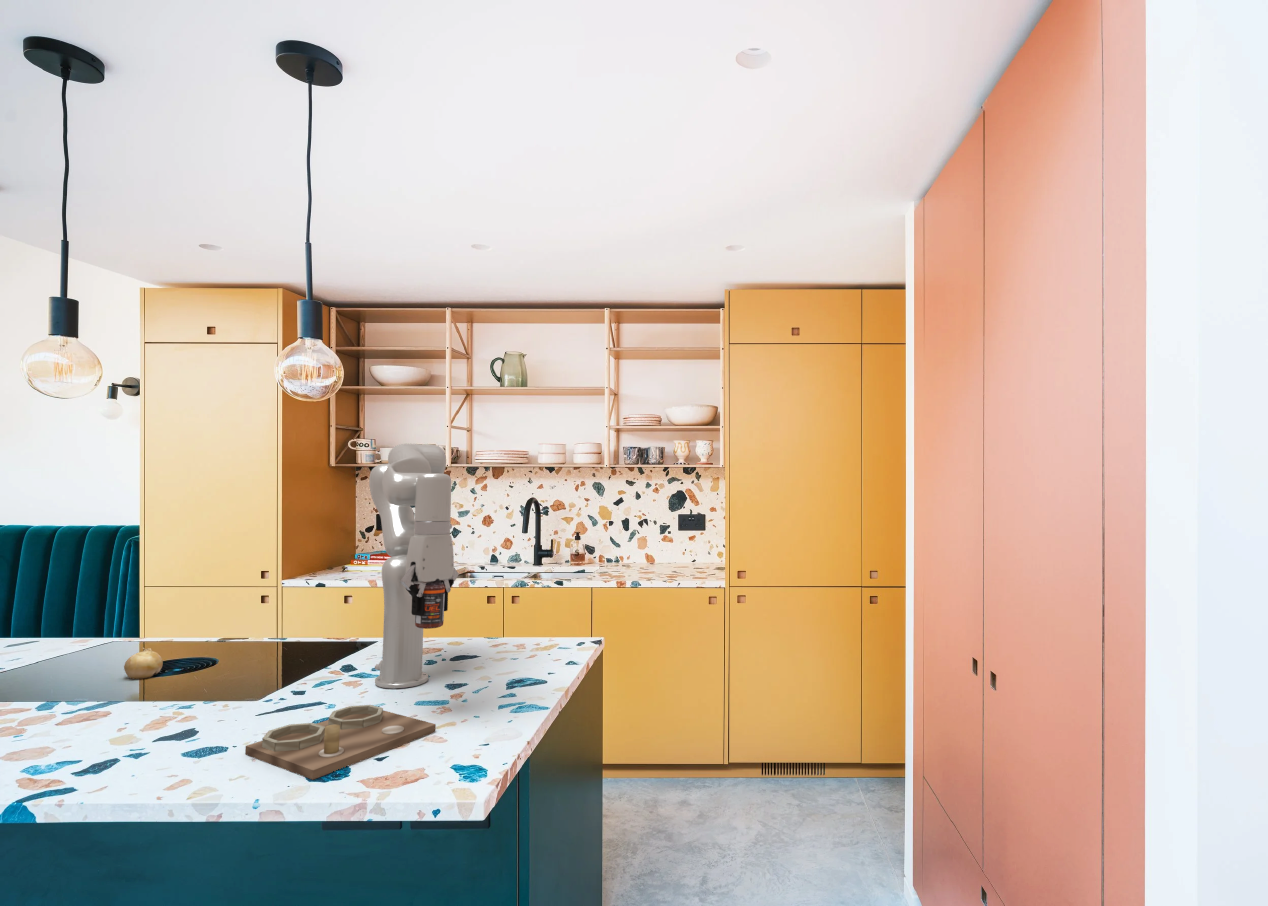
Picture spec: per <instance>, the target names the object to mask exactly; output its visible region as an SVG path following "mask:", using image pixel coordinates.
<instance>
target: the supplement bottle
mask: <svg viewBox="0 0 1268 906" xmlns="http://www.w3.org/2000/svg"><path fill="white" fill-rule="evenodd" d="M439 580H440V579H436V580H435V581H434V582H430V583H426V585H425V588H424V592H423V595H422V597H424V598H425V604H424V615H423V616H417V615H415V626H416V627H418V628H423V630H424V629H427V630H428V629H437V628H440V627H443V625H444V619H445V611H444V599H445V586H444V584H442V583H441V581H439ZM418 588H419V585H418V587H417V589H418Z"/></svg>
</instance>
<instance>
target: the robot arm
mask: <svg viewBox="0 0 1268 906" xmlns="http://www.w3.org/2000/svg"><path fill="white" fill-rule="evenodd" d="M387 462H388V463H380V464H378V465H376V466H374V467H373V468H372V469H371V471H370V473H369V479H368V480H369V481H368V483H369V492H370V496H371V499H372V502H373V504H374V506H375V508H376V510H377V511H378V514H379V517H380V522H381V523H380V524H381V531H382V532H381V533H382V538H383V546H384V549H385V552H386V554H387V555H388V556H390V557H388V558H387V559H386V560H385V561H384V562H383V564H382V567H381V581H382V589H383V630H382V631H383V637H382V658H381V659H382V660H380V662H379V663H376V664H375V665H374V669H375V670H377V671H379V675H378V676H376V678H375V679H374V684H375V686H376V687H379V688H383V689H404V688H412V687H417V686H420V685H423V684H425V683H426V682H428V680H429V674H428V673H426V672H424V671H423V652H424V651H423V649H424V648H423V647H424V629H423V628H418V627H416V626H415V615H417V616H423V615H424V604H425V598H424V597H422V595H423V592H424V588H425V585H426V583H430V582H434V581H435V580H436V579H440V580H439V581H441V583H442V584H444V586H445V599H444V612H447V611H448V608H449V606H448V605H449V603H448V602H449V593H450V592H451V591H452V590H451V589H452V587H453V585H454V584H455V583H454V582H456V580H457V578H458V577H459V572H458V571H457V570H456V568H455V567H454V566H455V565H454V564H455V563H454V557H455V556H454V546H453V539H452V535H451V529H453V525H452V523H451V509H452V506H451V505H452V477H451V476H450V475H449V474H446V473H445V470H446V466H447V456H446V453H445V451H444V450H443V448H442V447H441V446H439V445H436V444H423V443H422V444H420V443H400V444H397V445H395V446H393V447H392V449H390V451H389V453H388V455H387ZM412 506H413V507H414V511H413V508H412ZM418 585H419V588H418V589H417V587H418Z"/></svg>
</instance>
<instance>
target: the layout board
mask: <svg viewBox="0 0 1268 906" xmlns="http://www.w3.org/2000/svg"><path fill="white" fill-rule="evenodd" d="M436 729H437V728H436V723H432V722H429V721H425V720H422V719H418V718H415V717H410V716H405V715H402V714H399V713H395V712H391V711H387V710H384V707H381V706H376V705H373V704H364V705H363V704H362V705H350V706H345V707H343V708H339V709H336V710H333V711H332V712H331V713H330V715H329V716H328V719H327V720H324V721H321V722H317V723H314V722H306V723H292V724H286V725H284V726H280V727H276V728H272V729H271V730H268V731H267V732H266V733H265V735H264V736H263V737H262V740H260V741H256V742H254V743H250V744H246V745H245V752H244V754H245V756H249V757H251V758H253V759H256V760H259V761H262V762H264V763H267V764H270V765H271V766H272V765H273V766H275V767H278V768H280V769H283V770H285V769H286V771H288V770H289V771H288V772H291V773H293V772H294V773H293V774H296V773H297V775H299V774H300V775H299V776H302V777H305V778H307V779H310V780H316V779H318V778H321V777H323V776H327V775H329V774H332V773H333V771H334V772H336V770H337V771H339V770H341V768H342V769H344V768H346V766H347V767H349V766H352V765H354V764H357V763H359V762H362V761H365V760H367V759H369V758H372V757H375V756H377V755H380V754H383V753H385V752H388V751H390V750H393V749H395V748H397V747H400V746H403V745H406V744H408V743H410V742H413V741H416V740H419V739H421V738H423V737H426V736H428V735H430V734H431V735H432V734H433V733H436ZM351 764H352V765H351ZM348 765H349V766H348ZM343 767H344V768H343ZM338 769H339V770H338Z"/></svg>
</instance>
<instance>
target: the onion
mask: <svg viewBox="0 0 1268 906" xmlns="http://www.w3.org/2000/svg"><path fill="white" fill-rule="evenodd" d="M142 650H143V651H139V652H136V653H134V654H133V655H130V657H129V658H128V659H126V661H125V662H124V665H123V668H124V669H123V670H124V673H125V674H126V675H127V678H129V680H141V679H150V678H151V677H153V676H154V675H155V676H156V675H157V674H159V673H160V671H161V670H162V668H163V664H164V663H163V662H164V660H163V658H162V656H161V655H160V654H159V653H158V652H156V651H153V650H152V648H151V647H150V648H149V647H148V648H145V647H142Z"/></svg>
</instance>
